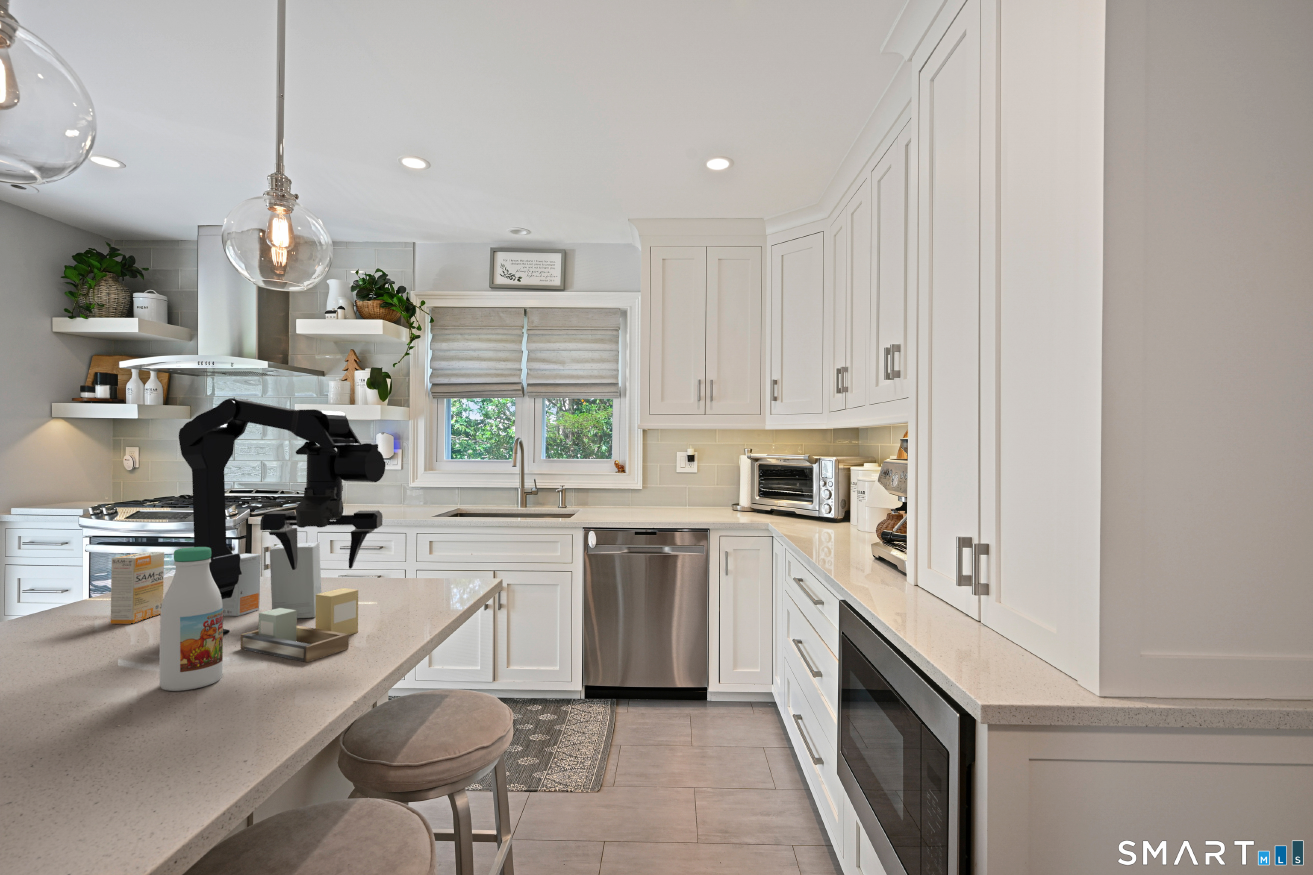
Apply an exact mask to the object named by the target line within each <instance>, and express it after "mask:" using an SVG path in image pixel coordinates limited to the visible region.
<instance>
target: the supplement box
mask: <svg viewBox="0 0 1313 875" xmlns="http://www.w3.org/2000/svg"><path fill="white" fill-rule="evenodd" d="M164 570H165V552H164V551H143V552H139V553H133V554H132V553H131V554H128V555H123V556H116V557H115V556H114V557H112V558H111V576H110V579H111V581H110V582H111V584H110V585H111V586H110V624H113V625H114V624H115V625H117V624H118V625H120V624H121V625H123V624H124V625H125V624H126V625H130V624H131V623H133V624H136V623H138V621H139V622H141V620H142V621H144V620H143V619H145V620H148V619H150V618H153V617H156V616H159V614H160V615H161V607H162V602H163V599H164V591H165V590H164V583H165V582H164V580H165V579H164V576H165V575H164V573H165V571H164ZM152 616H153V617H152ZM149 617H150V618H149ZM147 618H148V619H147ZM135 622H136V623H135ZM131 625H132V624H131Z"/></svg>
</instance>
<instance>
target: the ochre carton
mask: <svg viewBox="0 0 1313 875" xmlns="http://www.w3.org/2000/svg"><path fill="white" fill-rule="evenodd" d="M315 629H321V630H326V631H332V632H338V633H344V634H349V636H350V635H353V634H356V633H359V589H353V588H347V587H346V588H345V587H342V588H337V589H334V590H328V591H325V592H321V593H320V594H316V616H315Z"/></svg>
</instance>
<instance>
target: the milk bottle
mask: <svg viewBox="0 0 1313 875" xmlns="http://www.w3.org/2000/svg"><path fill="white" fill-rule="evenodd" d="M173 561H174V563H173V565H174V567H175V570H174V571H175V572H174V575H173V578H172V580H171V583H170V585H169V586H168V588H167V590H166V591H165V593H164V595H163V602H162V607H161V614H160V617H159V618H160V621H159V622H160V623H159V686H160V688H161V689H162V690H163V691H170V692H179V691H180V692H181V691H189V690H195V689H199V688H200V689H201V688H203V687H206V686H210V685H212V684H215V683H218V681H219V680H220V679H222V676H223V668H224V667H223V662H224V660H223V656H224V655H223V653H224V650H223V649H224V639H223V638H224V634H223V629H224V620H223V619H224V615H223V607H222V598H221V594H220V591H219V589H218V587H217V585H216V583H215V582H214V580H213V578H212V575H211V572H210V568H209V563H210V562H211V548H209V547H194V546H191V547H182V548H178V549H175V550H174V552H173Z"/></svg>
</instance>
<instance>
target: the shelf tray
mask: <svg viewBox="0 0 1313 875" xmlns="http://www.w3.org/2000/svg"><path fill="white" fill-rule="evenodd" d="M349 636H350V635H349V634H344V633H338V632H332V631H326V630H321V629H315V628H314V627H308V626H303V625H302V626H301V625H297V632H296V641H297V642H296V641H290V640H285V639H279V638H274V637H268V636H263V635H259V629H256V630H253V631H248V632H244V633H241V634H240V648H241V649H240V650H244V649H246V650H245V651H250V652H254V651H256V652H255V653H259V652H260V653H259V654H264V653H265V655H269V654H270V655H271V656H274V655H275V657H280V658H284V657H286V659H290V660H295V661H300V662H304V663H310V662H312V661H317V660H320V659H322V658H324V657H325V658H326V657H327V656H331V655H334V654H337V653H339V652H342V651H345V650H348V649H349V646H350V645H349V641H350V640H349V638H350V637H349ZM301 642H302V643H301Z"/></svg>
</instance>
